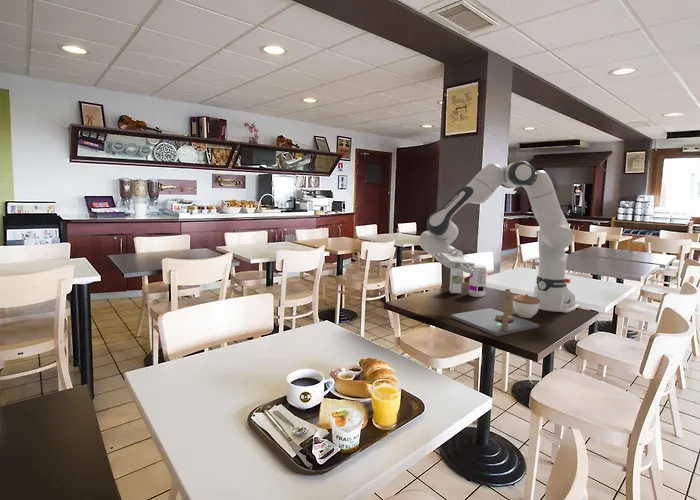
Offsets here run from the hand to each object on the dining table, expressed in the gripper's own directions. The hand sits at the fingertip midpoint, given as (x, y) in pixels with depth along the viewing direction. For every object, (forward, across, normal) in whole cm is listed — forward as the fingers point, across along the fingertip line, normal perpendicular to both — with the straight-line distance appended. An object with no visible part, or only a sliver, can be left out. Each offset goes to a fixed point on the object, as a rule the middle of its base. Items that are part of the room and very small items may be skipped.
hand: (470, 271), depth 174 cm
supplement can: (-8, +36, +18) cm, 41 cm away
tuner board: (+19, +2, +12) cm, 23 cm away
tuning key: (+24, -1, +9) cm, 25 cm away
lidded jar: (+22, +20, +7) cm, 31 cm away
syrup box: (-17, +33, +22) cm, 43 cm away
